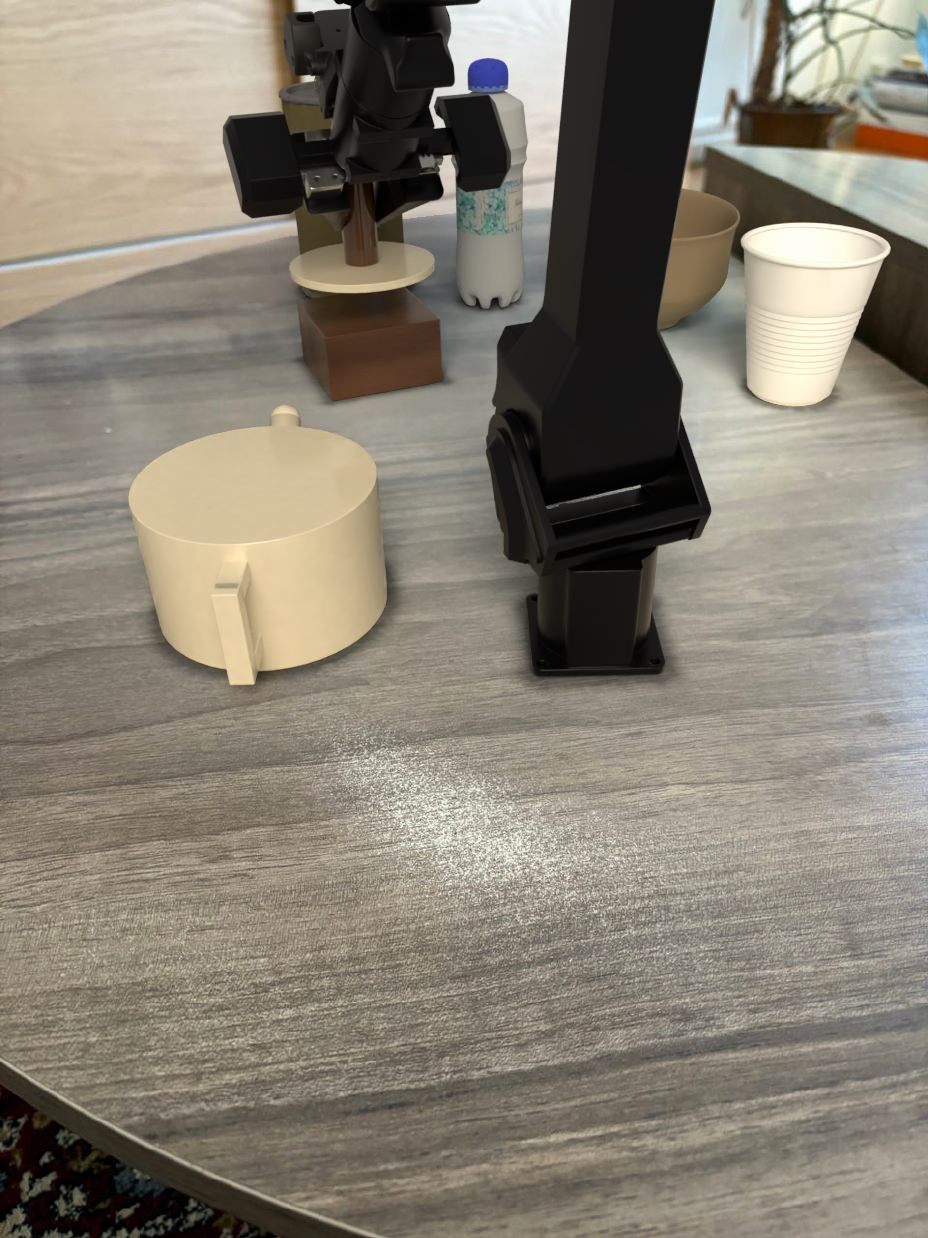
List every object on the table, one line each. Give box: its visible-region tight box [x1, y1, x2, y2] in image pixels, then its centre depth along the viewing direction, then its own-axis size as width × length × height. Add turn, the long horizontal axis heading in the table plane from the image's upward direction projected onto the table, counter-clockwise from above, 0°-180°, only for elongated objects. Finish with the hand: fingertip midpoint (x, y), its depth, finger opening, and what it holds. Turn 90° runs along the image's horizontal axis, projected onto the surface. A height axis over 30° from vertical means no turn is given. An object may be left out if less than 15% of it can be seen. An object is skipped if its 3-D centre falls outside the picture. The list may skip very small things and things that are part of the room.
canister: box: [278, 76, 408, 299], centre depth 91 cm, size 11×10×20 cm
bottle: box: [450, 57, 529, 310], centre depth 87 cm, size 7×7×20 cm
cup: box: [740, 222, 892, 407], centre depth 72 cm, size 10×10×11 cm
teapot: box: [127, 403, 388, 686], centre depth 53 cm, size 20×12×8 cm, turn 0°
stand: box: [296, 287, 443, 402], centre depth 79 cm, size 9×9×5 cm
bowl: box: [659, 187, 741, 331], centre depth 84 cm, size 13×13×10 cm
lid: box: [288, 178, 436, 293], centre depth 74 cm, size 11×11×7 cm
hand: (354, 222), depth 75 cm, fingers closed on lid, 3 cm apart
